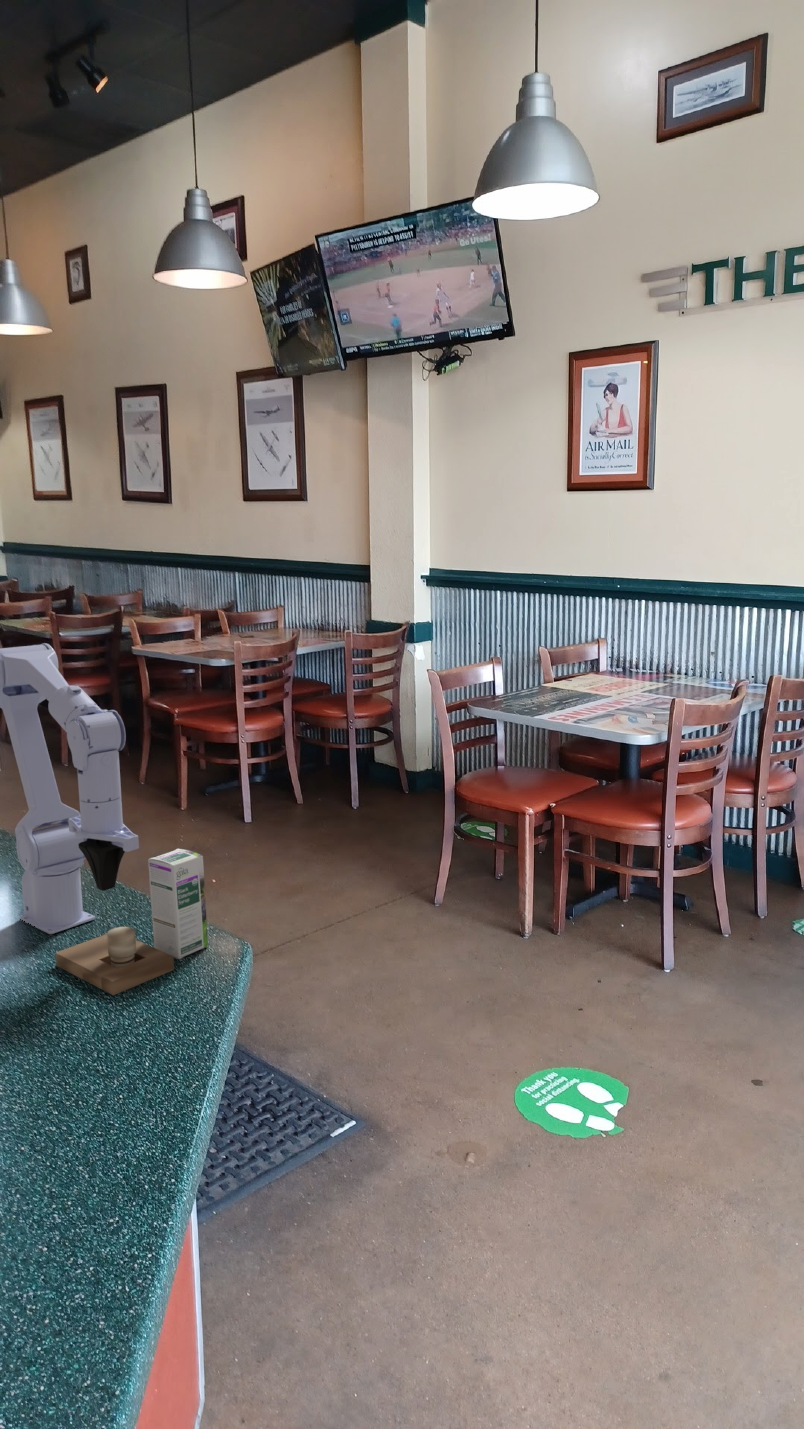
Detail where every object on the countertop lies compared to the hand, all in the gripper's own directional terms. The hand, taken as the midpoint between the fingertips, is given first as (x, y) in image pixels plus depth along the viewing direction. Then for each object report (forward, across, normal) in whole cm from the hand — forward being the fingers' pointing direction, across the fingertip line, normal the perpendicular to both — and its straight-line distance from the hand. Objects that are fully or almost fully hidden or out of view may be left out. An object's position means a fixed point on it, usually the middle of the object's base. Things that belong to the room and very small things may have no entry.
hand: (106, 888), depth 145 cm
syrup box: (+11, +6, +8) cm, 15 cm away
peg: (+10, +6, -2) cm, 12 cm away
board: (+10, +4, -2) cm, 11 cm away
